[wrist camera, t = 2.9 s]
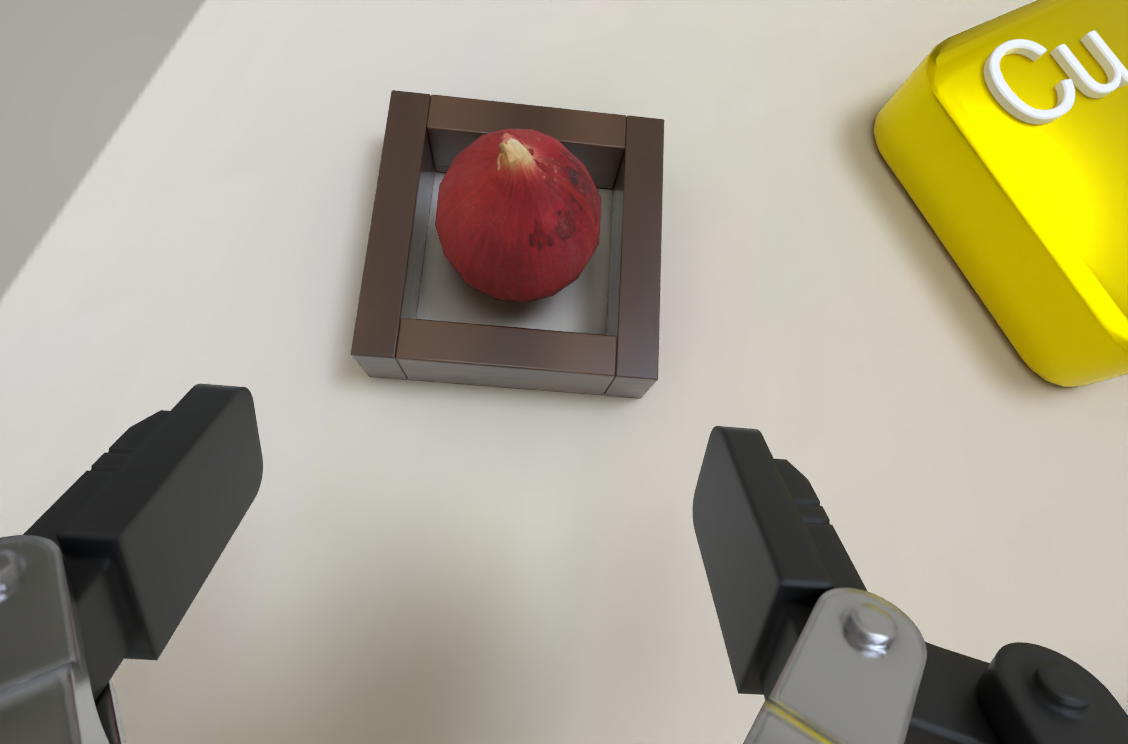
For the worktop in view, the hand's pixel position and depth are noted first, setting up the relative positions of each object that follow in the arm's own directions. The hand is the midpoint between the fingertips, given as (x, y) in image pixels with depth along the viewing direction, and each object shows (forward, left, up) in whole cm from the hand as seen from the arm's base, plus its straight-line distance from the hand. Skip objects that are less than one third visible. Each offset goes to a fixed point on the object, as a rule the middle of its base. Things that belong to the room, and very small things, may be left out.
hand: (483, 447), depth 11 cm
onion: (0, +10, -13) cm, 16 cm away
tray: (0, +10, -13) cm, 16 cm away
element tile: (+25, +16, -13) cm, 32 cm away
